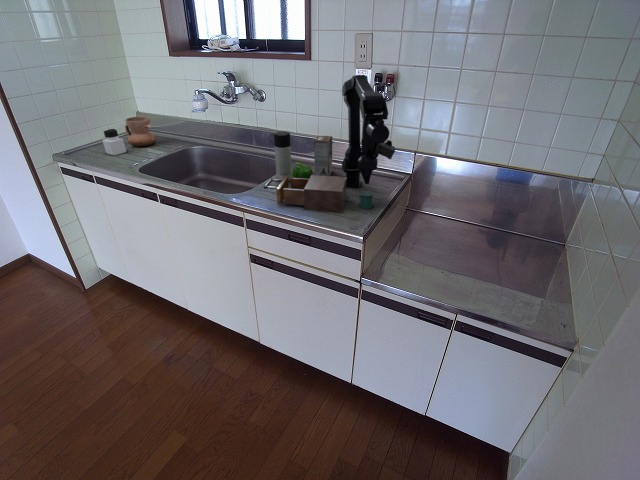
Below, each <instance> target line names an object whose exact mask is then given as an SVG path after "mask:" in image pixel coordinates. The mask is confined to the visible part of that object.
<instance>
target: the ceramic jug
mask: <svg viewBox="0 0 640 480" xmlns="http://www.w3.org/2000/svg"><path fill="white" fill-rule="evenodd" d="M124 121H125V125H124V128H125V129H124V130H125V132H126V133H127V135H128V138H127V142H128V143H129V144H130V145H131V146H133V147H139V148H140V147H141V148H142V147H149V146H151V145H153V144H155V143H156V141H157V136H156V135H155V134H154V133H152V132H150V129H152V128H153V125H151V119H150V117H149V116H131V117H127V118H125V119H124Z"/></svg>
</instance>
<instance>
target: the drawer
mask: <svg viewBox="0 0 640 480" xmlns="http://www.w3.org/2000/svg"><path fill="white" fill-rule="evenodd" d="M308 181H309V179H304V178H293V177H292V178H291V181H289V180H288V176H285V177H284V179H283V180H277V179H276V178H275V179H274V178H269V180H267V182H266V183H265V184H264V186H263V190H267V189H270V190H272V189H273V190H276V192H275V193H276V203H277V206H281V205H282V204H283V203H284V204H285V205H296V206H297V205H298V206H304V188H305V186H306V184H307V183H308ZM272 182H276V183H279V185H278V186H271V184H272ZM289 182H290V183H289Z"/></svg>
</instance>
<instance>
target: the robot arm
mask: <svg viewBox="0 0 640 480" xmlns="http://www.w3.org/2000/svg"><path fill="white" fill-rule="evenodd" d="M341 95H342V96H343V102H344V103H345V105H346V107H347V116H348V117H347V122H348V127H347V128H348V147H347V149H346V151H345V153H344V157H343V159H342V163H341V170H342V171H343V173H344V174H345V177H347V186H346V188H360V187H361V184H362V181H361V180H360V179H361V177H362V179H363V182H364V184H365V185H369V184H370V180H371V177H372V173H373V172H374V171H376V170H377V168H378V162H379V159H378V158H379V155H380V156H382V157H385V158H387V159H388V160H392V158H393V156H394V154H395V152H396V147H395V145H393V141H392V140H390V139H389V137H390V129H389V127H387V125H385V121H386V120H388V116H389V109H388V105H387V101H386V99H385V97H384V95H383V94H382V93H381V92H377V91H375V90H374V89H373V87H372V86H371V84H370V82H369V81H368V76H367V75H365V74H354V75H352V76H351V78H349V79H348V80H346V81H344V83H343V85H342V88H341ZM361 119H362V128H361ZM361 129H362V130H361Z"/></svg>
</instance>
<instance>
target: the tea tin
mask: <svg viewBox="0 0 640 480" xmlns="http://www.w3.org/2000/svg"><path fill="white" fill-rule="evenodd" d="M359 194H360V196H359V207H360V208H361V209H366V210H367V209H371V208H373V204H374V203H373V200H374V192H373V191H370V190H362V191H360V193H359Z"/></svg>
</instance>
